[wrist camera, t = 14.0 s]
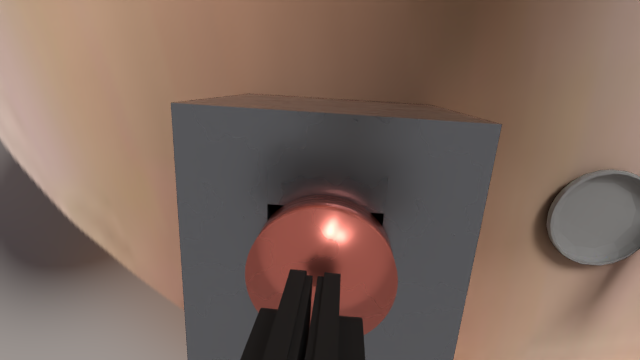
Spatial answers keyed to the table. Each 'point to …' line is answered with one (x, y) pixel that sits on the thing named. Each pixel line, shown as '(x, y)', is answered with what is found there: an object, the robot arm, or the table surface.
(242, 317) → the block
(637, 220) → the pocket watch
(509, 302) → the table surface
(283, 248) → the lynch pin
